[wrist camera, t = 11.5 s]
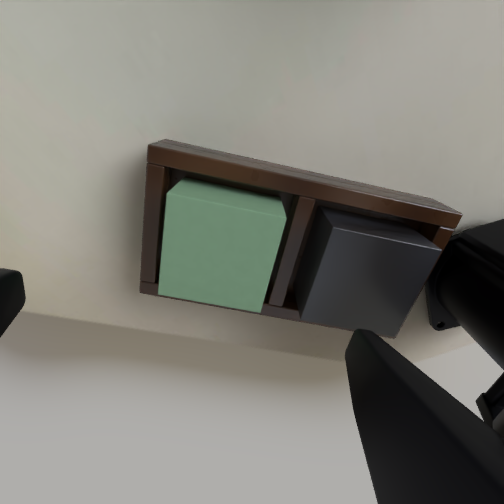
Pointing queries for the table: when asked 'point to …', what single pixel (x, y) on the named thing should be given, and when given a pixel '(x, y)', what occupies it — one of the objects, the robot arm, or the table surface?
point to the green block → (219, 244)
